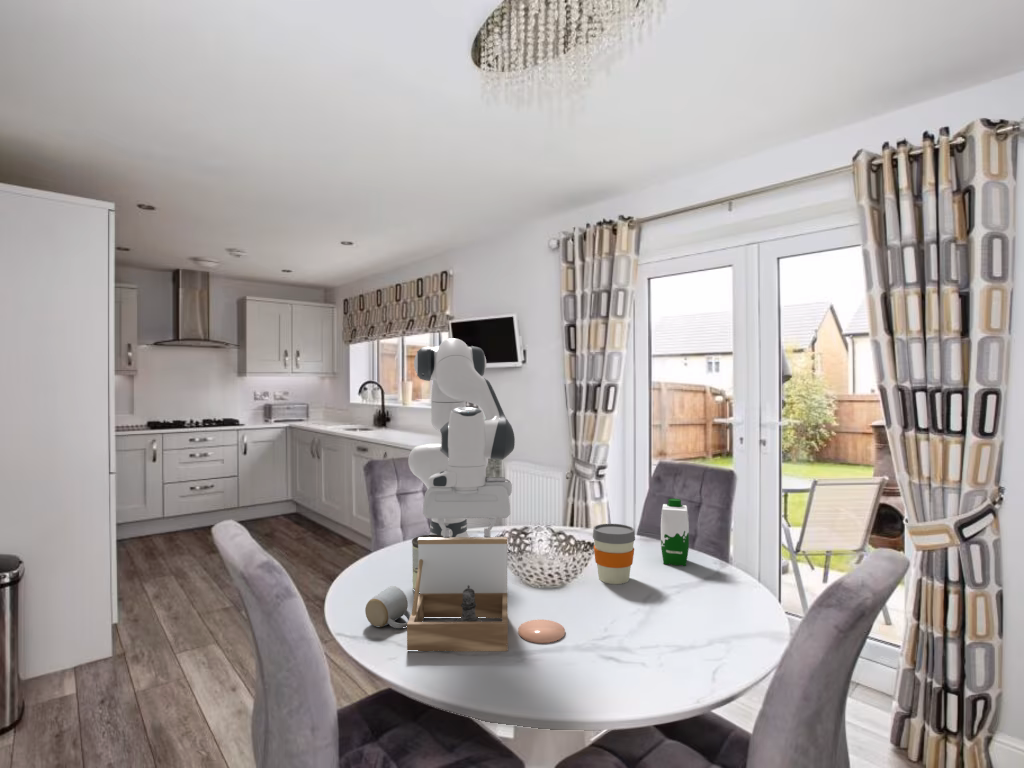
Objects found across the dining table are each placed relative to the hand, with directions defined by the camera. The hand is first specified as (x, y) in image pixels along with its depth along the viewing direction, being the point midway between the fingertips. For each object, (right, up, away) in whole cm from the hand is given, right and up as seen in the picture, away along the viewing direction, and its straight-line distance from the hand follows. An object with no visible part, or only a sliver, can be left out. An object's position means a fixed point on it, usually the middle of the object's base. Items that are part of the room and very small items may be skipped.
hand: (467, 537), depth 127 cm
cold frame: (-2, -23, +2) cm, 23 cm away
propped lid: (-2, -18, +4) cm, 18 cm away
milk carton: (+64, -23, +53) cm, 86 cm away
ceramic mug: (-19, -23, +7) cm, 31 cm away
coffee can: (-13, -23, +30) cm, 40 cm away
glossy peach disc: (+17, -23, +2) cm, 29 cm away
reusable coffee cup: (+41, -23, +37) cm, 60 cm away
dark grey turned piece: (0, -23, 0) cm, 23 cm away
